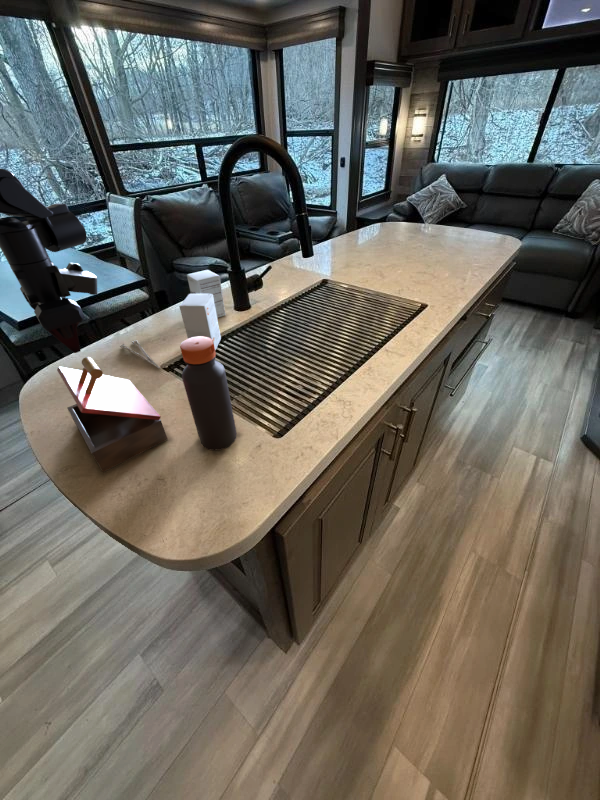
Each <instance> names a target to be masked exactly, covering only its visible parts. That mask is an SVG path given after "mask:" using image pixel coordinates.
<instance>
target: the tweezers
mask: <svg viewBox="0 0 600 800" xmlns="http://www.w3.org/2000/svg"><path fill="white" fill-rule="evenodd" d="M130 342H131V344H133V345H136V346H137V348H138V349H139V350H140V351H141V352H142V354H143V355H142V354H140V353H138V352H137V351H135V350H133V349H131V348H129V347H128V346H126V345H125V343H122V344H121V345H119V348H121V349H123V350H125V351H128V352H130V353H133V354H134V355H136V356H138V357H140V358H142V359H143V360H146V361H147V362H148V363H150V364H152V365H153V366H155V367H156V368H157V369H158V370H161V369H162V368H161V367H160V366H159V365H158V364H157V363H156V362H155V361H154V359H152V358H151V357H150V355H148V353H147V352H146V350H145V349H144V348H143V346H142V345H141V344H140V342H139V341H138V339H135V340H131V341H130Z"/></svg>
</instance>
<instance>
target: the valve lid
mask: <svg viewBox="0 0 600 800" xmlns="http://www.w3.org/2000/svg"><path fill="white" fill-rule="evenodd" d="M81 366H82V367H83V368H82V370H80V369H75V368H69V367H64V366H57V368H56V371H57V373H58V374H59V376H60V378H61V379H62V381H63V383H64V385H65V386H66V388H67V390H68V391H69V394H70V395H71V397H72V398H73V400H74V403H75V404H77V405H78V407H79V409H80V411H81V412H82V413H91V414H101V415H112V416H122V417H132V418H142V419H152V420H161V417H162V416H161V415H160V413H158V412H157V410H156V408H155V407H153V406H152V405H151V403H150V402H149V401H148V400H147V399H146V397H145V396H144V395H143V394H142V393H141V392H140V390H139V389H138V388H137V387H136V386H135V384H134V383H133V382H132V381H131V380H130V379H128V378H123V377H117V376H112V375H107V374H104V372H103V370H102V369H101V368H100V366H99V365H98V364H97V362H96V361H95V359H93V358H92V357H90V356H86V357H83V358H82V360H81Z"/></svg>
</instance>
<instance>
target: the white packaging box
mask: <svg viewBox="0 0 600 800" xmlns="http://www.w3.org/2000/svg"><path fill="white" fill-rule="evenodd" d="M186 278H187V282H188V287H189V291H190V294H213V298H214V304H215V309H216V315H217V319H218V318H221V317H224V316H226V315H227V314H226V309H225V308H226V307H225V301H224V296H223V290H222V289H223V288H222V283H221V277H220V275H219V274H217V273H215V272H213V271H211V270H210V269H205V270H201V271H196V272H192V273H188V274H186Z"/></svg>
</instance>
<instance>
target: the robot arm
mask: <svg viewBox="0 0 600 800" xmlns="http://www.w3.org/2000/svg"><path fill="white" fill-rule="evenodd" d="M1 214H2V215H5V216H7V217H5V218H0V251H1V252H2V254H3V255H4V257H5V259H6V261H7V263H8V265H9V267H10V270H11V271H12V273H13V275H14V276H15V278H16V279H17V282H18V283H19V286H20V288H19V290H20V292H21V294H22V295H23V298H24V299H25V300H26V302H27V303H28V305H29V306H30V308H31V309H33V313H34V315H35V317H36V318H37V320H38V322H39V324H40V326H41V328H43V330H44V331H46V332H48V333H49V334H50V335H52V336H53V337H54V338H55V339H57V340H58V341H59V342H60V343H62V345H64V346H65V347H66V348H67V349H69V350H70V351H71V352H73V353H74V354H77V353H80V352H81V344H80V340H79V333H78V326H79V324H80V323H82V322H83V321H84V319H85V318H86V317H85V314H84V312H83V310H82V308H81V306H80V305H79V304H78V303H77V301H75V300H73V299H71V298H68V297H70V296H72V294H71V293H80V294H89V295H91V296H96V295H98V277H97V275H95V274H94V273H92V272H90V271H89V270H83V267H82V265H81V264H79V263H77V262H70V261H69V262H68V263H67V265H66V267H62V268H59V267H58V266H57V265H56V264H55V263H54V262H53V261H52V260H51V258H50V256H49V253H48V251H50V252H51V253H59V252H61V251H64V250H67V249H72V248H75V247H78V246H81V245H84V244H85V243H86V241H87V238H88V236H87V230H86V228H85V226H84V224H82V222H81V220H80V219H79V218H78V217H77V216H76V215H75V214H74V213H73V212H71V211H70V209H69V207H68V205H67V203H53V204H50V205H48V206H46V205H45V204H44V203H42V202H41V201H40V200H39V199H38V198H37V197H36V196H34V195H33V194H32V193H31V192H30V191H29V190H28V189H26V188H25V186H24V185H23V183H22V182H21V180H20V179H19V178H18V177H17V176H16V175H14V173H13V172H12V171H10V170H8V169H4V168H2V167H1V168H0V215H1ZM16 217H19V218H25V219H26V220H24V221H22V220H20V219H18V218H16ZM47 250H48V251H47Z"/></svg>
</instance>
